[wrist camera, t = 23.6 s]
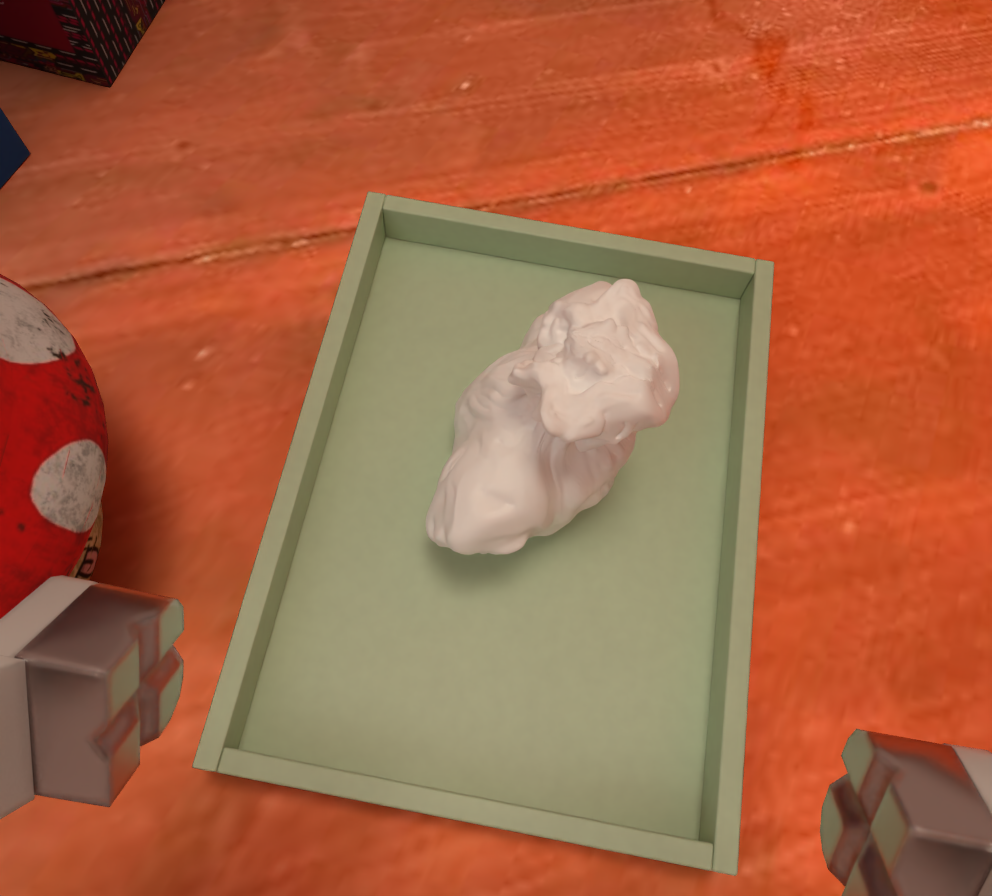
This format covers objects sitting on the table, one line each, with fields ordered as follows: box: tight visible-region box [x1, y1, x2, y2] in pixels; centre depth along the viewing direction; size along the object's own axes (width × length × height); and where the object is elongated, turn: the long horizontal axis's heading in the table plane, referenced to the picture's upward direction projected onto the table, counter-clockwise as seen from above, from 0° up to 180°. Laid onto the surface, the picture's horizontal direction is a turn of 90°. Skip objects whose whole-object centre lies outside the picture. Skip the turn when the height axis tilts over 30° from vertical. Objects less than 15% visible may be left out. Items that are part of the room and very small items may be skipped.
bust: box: [426, 279, 680, 555], centre depth 29 cm, size 12×8×11 cm
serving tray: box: [192, 191, 774, 876], centre depth 32 cm, size 18×24×3 cm
